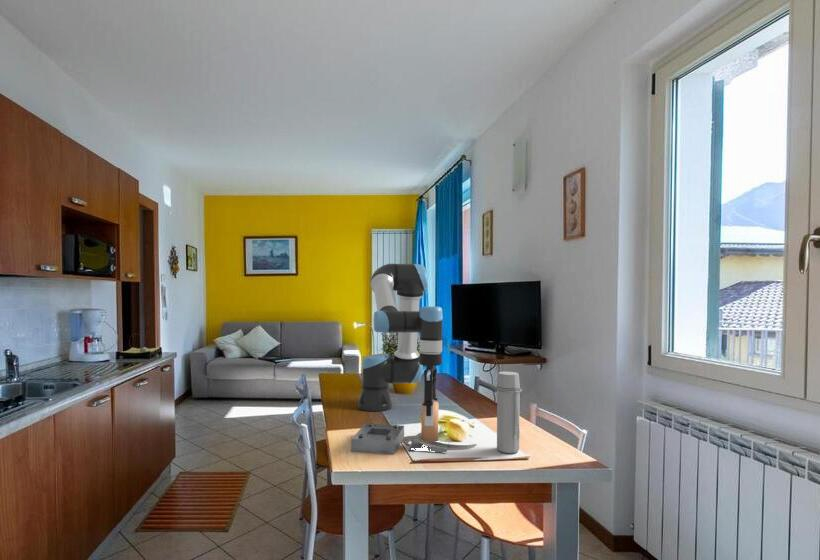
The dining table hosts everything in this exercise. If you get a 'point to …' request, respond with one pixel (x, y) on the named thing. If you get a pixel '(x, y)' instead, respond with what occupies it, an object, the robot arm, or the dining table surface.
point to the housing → (377, 438)
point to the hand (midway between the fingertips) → (429, 422)
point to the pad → (417, 444)
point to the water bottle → (508, 412)
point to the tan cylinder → (430, 431)
